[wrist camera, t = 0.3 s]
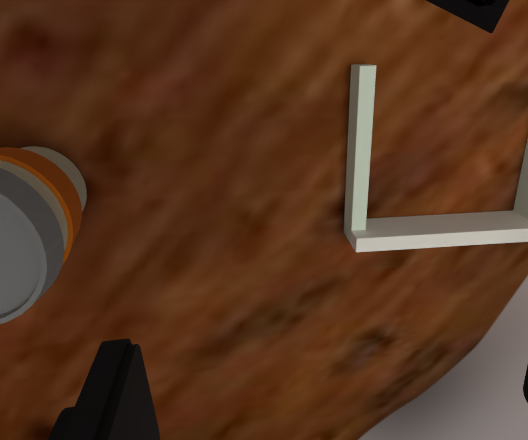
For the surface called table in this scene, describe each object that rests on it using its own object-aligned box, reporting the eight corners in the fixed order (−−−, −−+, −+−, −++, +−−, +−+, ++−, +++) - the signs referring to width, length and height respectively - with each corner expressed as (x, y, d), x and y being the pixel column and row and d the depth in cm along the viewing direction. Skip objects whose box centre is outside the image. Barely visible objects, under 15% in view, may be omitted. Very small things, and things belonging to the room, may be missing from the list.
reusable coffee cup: (-54, 175, 43) (-188, 237, 29) (42, 101, 41) (-52, 130, 27) (40, 266, 47) (-37, 358, 33) (130, 203, 45) (88, 273, 32)
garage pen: (351, 64, 42) (401, 72, 30) (558, 57, 43) (685, 62, 31) (343, 232, 49) (382, 294, 37) (523, 221, 50) (616, 277, 38)
